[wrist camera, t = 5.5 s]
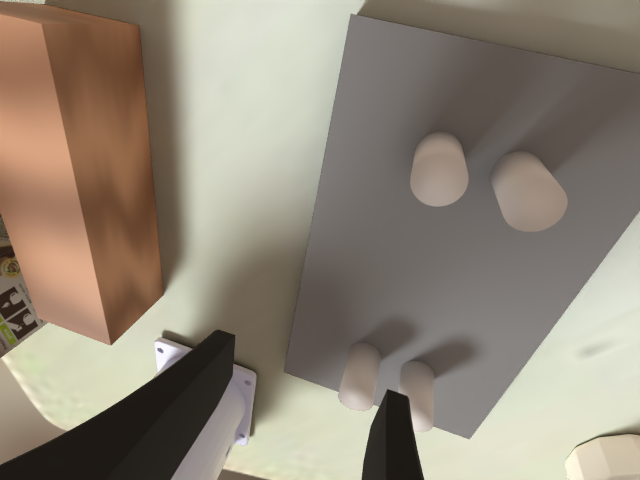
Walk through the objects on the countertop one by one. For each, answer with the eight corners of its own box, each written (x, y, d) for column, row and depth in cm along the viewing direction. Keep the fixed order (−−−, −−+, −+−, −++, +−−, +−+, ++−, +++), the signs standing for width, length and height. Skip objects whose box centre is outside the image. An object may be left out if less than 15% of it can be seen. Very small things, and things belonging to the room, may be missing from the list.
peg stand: (468, 424, 23) (473, 492, 19) (289, 360, 24) (265, 412, 21) (706, 87, 12) (813, 110, 8) (356, 14, 14) (329, 9, 10)
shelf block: (165, 292, 25) (110, 345, 21) (103, 271, 25) (37, 318, 21) (142, 25, 16) (41, 23, 12) (49, 4, 17) (-77, -5, 13)
